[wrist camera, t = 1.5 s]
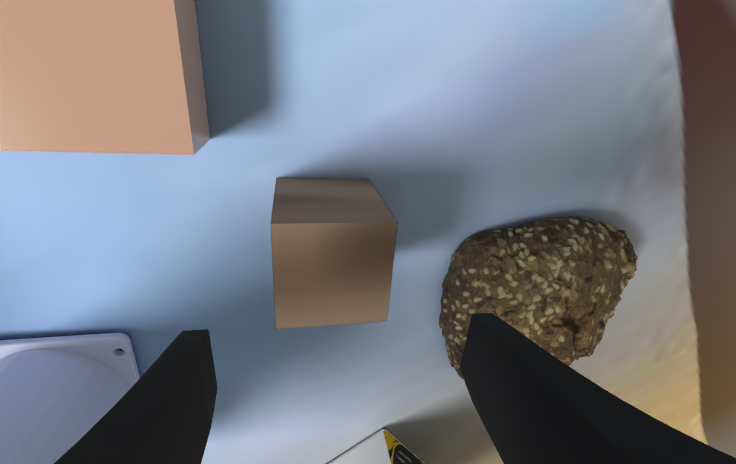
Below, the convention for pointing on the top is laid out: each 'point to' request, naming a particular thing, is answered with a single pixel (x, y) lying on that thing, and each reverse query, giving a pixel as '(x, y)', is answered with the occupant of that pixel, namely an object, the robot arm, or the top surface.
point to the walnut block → (330, 252)
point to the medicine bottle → (379, 451)
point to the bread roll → (539, 284)
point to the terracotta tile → (101, 77)
